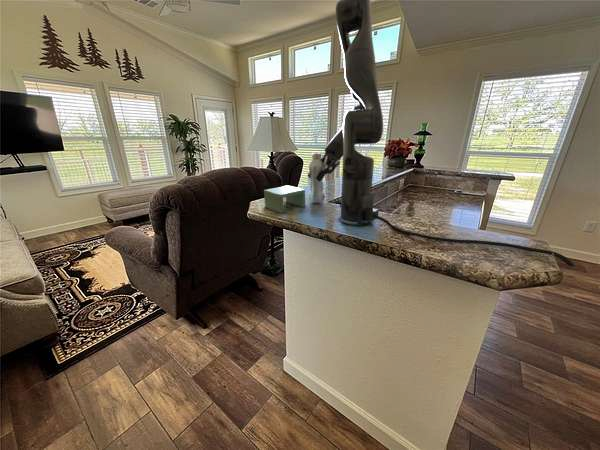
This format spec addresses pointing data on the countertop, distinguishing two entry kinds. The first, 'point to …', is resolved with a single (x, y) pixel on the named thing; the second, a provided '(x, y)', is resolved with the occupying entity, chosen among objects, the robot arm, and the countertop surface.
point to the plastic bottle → (315, 185)
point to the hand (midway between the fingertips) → (313, 178)
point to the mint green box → (276, 196)
